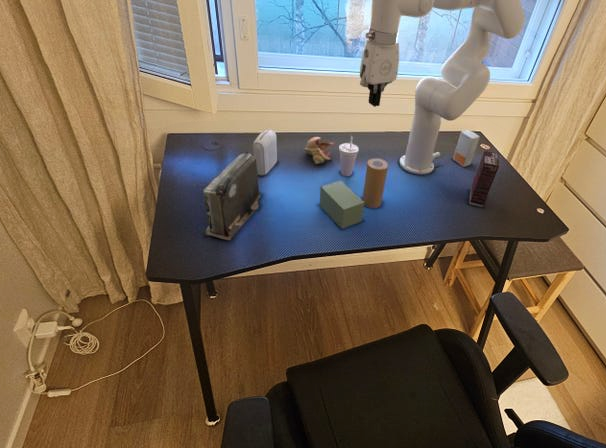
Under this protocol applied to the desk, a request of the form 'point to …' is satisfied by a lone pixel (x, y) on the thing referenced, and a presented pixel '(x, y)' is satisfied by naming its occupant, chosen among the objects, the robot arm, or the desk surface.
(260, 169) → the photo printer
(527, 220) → the desk surface
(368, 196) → the paper roll
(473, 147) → the cosmetic box
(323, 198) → the green block
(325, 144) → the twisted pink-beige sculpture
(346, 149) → the smoothie
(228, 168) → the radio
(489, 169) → the supplement box
